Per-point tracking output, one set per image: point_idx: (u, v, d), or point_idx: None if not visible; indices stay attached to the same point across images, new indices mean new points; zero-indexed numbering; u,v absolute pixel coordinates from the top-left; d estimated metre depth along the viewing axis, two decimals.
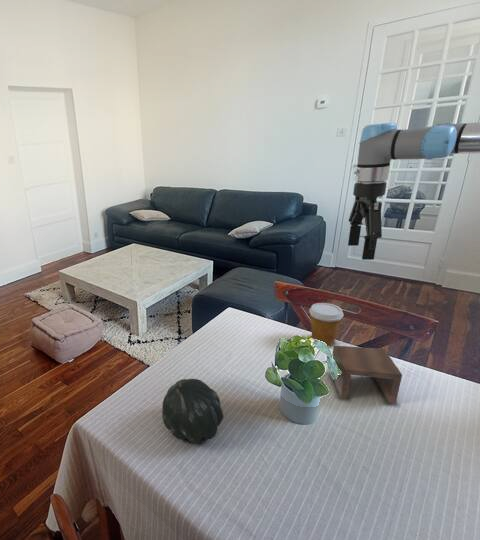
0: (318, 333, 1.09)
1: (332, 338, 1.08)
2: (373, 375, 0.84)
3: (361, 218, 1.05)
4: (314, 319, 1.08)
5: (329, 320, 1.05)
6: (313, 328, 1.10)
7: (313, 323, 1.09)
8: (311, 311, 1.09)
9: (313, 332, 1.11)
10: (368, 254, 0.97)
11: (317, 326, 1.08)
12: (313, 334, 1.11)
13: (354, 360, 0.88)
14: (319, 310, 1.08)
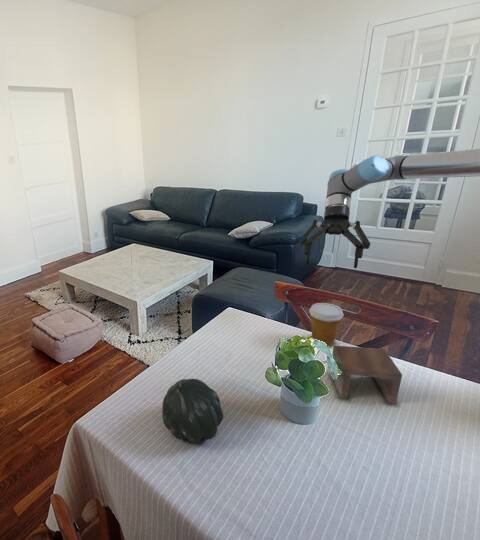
0: (318, 333, 1.09)
1: (332, 338, 1.08)
2: (373, 375, 0.84)
3: (352, 239, 1.12)
4: (314, 319, 1.08)
5: (329, 320, 1.05)
6: (313, 328, 1.10)
7: (313, 323, 1.09)
8: (311, 311, 1.09)
9: (313, 332, 1.11)
10: None
11: (317, 326, 1.08)
12: (313, 334, 1.11)
13: (354, 360, 0.88)
14: (319, 310, 1.08)
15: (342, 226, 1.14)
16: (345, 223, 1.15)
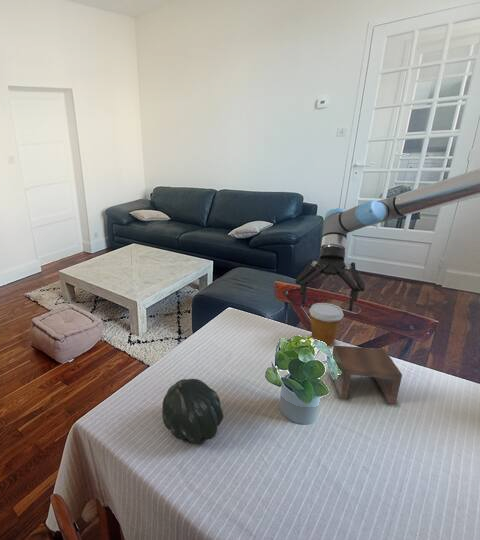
0: (318, 333, 1.08)
1: (332, 338, 1.08)
2: (373, 375, 0.84)
3: (347, 282, 1.12)
4: (314, 319, 1.08)
5: (329, 320, 1.05)
6: (313, 328, 1.10)
7: (313, 323, 1.09)
8: (311, 311, 1.09)
9: (313, 332, 1.11)
10: None
11: (317, 326, 1.08)
12: (313, 334, 1.11)
13: (354, 360, 0.88)
14: (319, 310, 1.08)
15: (337, 267, 1.14)
16: (340, 264, 1.15)
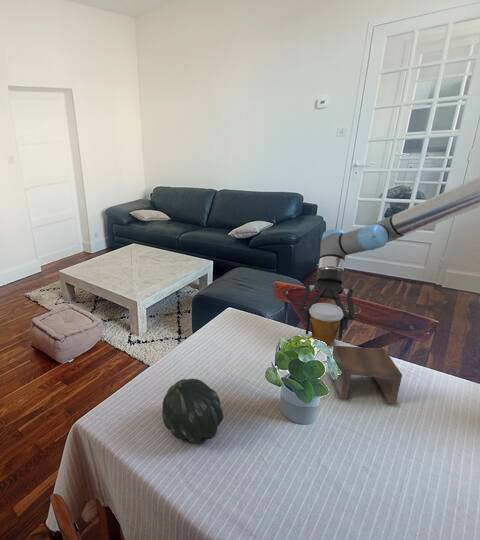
0: (318, 333, 1.09)
1: (332, 338, 1.08)
2: (373, 375, 0.84)
3: None
4: (314, 319, 1.08)
5: (329, 320, 1.05)
6: (313, 328, 1.10)
7: (313, 323, 1.09)
8: (311, 311, 1.09)
9: (313, 332, 1.11)
10: (306, 328, 1.11)
11: (317, 326, 1.08)
12: (313, 334, 1.11)
13: (354, 360, 0.88)
14: (319, 310, 1.08)
15: (335, 291, 1.10)
16: (338, 287, 1.11)
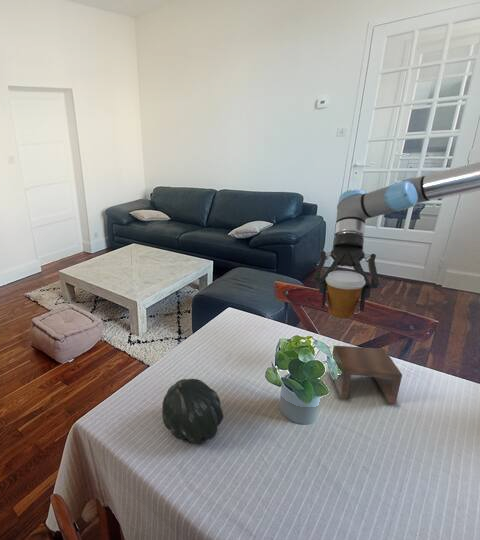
0: (337, 303, 0.96)
1: (352, 309, 0.95)
2: (373, 375, 0.84)
3: None
4: (331, 288, 0.95)
5: (349, 288, 0.92)
6: (330, 299, 0.97)
7: (330, 293, 0.97)
8: (328, 279, 0.96)
9: (330, 303, 0.98)
10: None
11: (335, 296, 0.95)
12: (330, 306, 0.98)
13: (354, 360, 0.88)
14: (337, 278, 0.95)
15: (355, 257, 0.98)
16: (358, 253, 0.98)
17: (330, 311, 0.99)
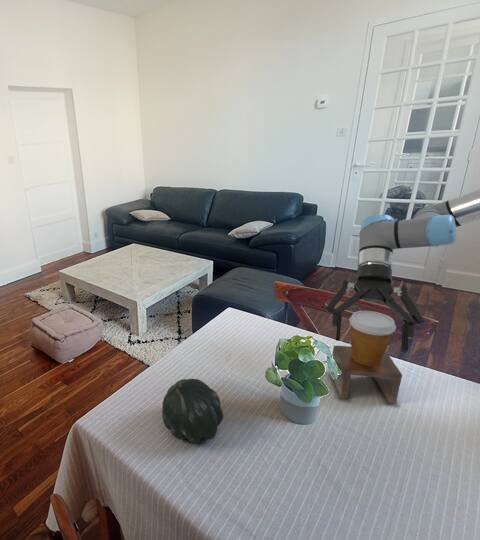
0: (362, 349, 0.85)
1: (380, 356, 0.84)
2: (373, 375, 0.84)
3: (398, 312, 0.84)
4: (357, 332, 0.84)
5: (378, 334, 0.81)
6: (354, 343, 0.86)
7: (355, 337, 0.85)
8: (352, 321, 0.85)
9: (354, 348, 0.87)
10: (336, 333, 0.89)
11: (361, 341, 0.84)
12: (354, 351, 0.87)
13: None
14: (363, 320, 0.84)
15: (383, 292, 0.86)
16: (387, 288, 0.87)
17: (354, 356, 0.88)
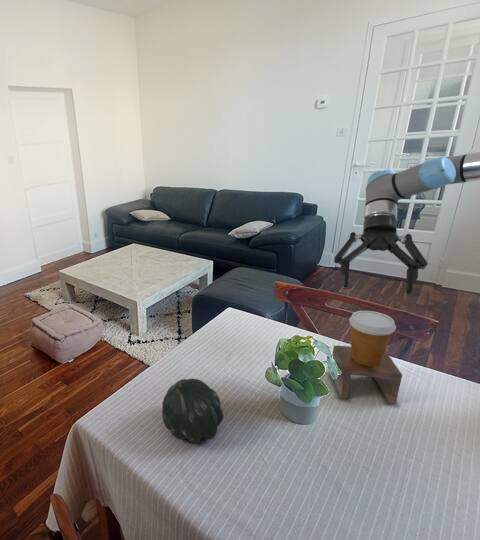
0: (362, 349, 0.85)
1: (380, 356, 0.84)
2: (373, 375, 0.84)
3: (402, 257, 0.89)
4: (357, 332, 0.84)
5: (378, 334, 0.81)
6: (354, 343, 0.86)
7: (355, 337, 0.85)
8: (352, 321, 0.85)
9: (354, 348, 0.87)
10: (344, 280, 0.94)
11: (361, 341, 0.84)
12: (354, 351, 0.87)
13: None
14: (363, 320, 0.84)
15: (389, 240, 0.92)
16: (392, 236, 0.92)
17: (354, 356, 0.88)
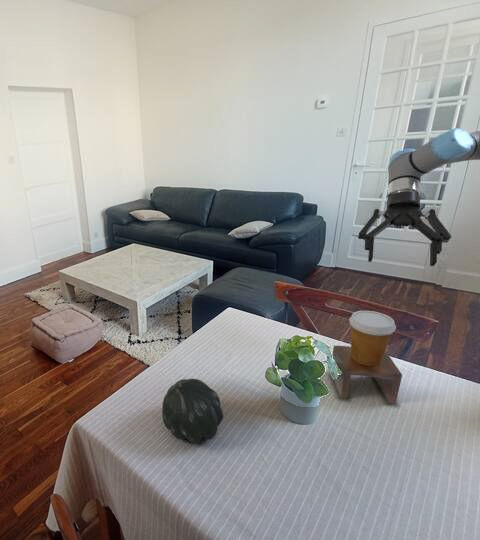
0: (362, 349, 0.85)
1: (380, 356, 0.84)
2: (373, 375, 0.84)
3: (426, 232, 0.93)
4: (357, 332, 0.84)
5: (378, 334, 0.81)
6: (354, 343, 0.86)
7: (355, 337, 0.85)
8: (352, 321, 0.85)
9: (354, 348, 0.87)
10: (369, 254, 0.97)
11: (361, 341, 0.84)
12: (354, 351, 0.87)
13: None
14: (363, 320, 0.84)
15: (413, 216, 0.95)
16: (416, 212, 0.95)
17: (354, 356, 0.88)
